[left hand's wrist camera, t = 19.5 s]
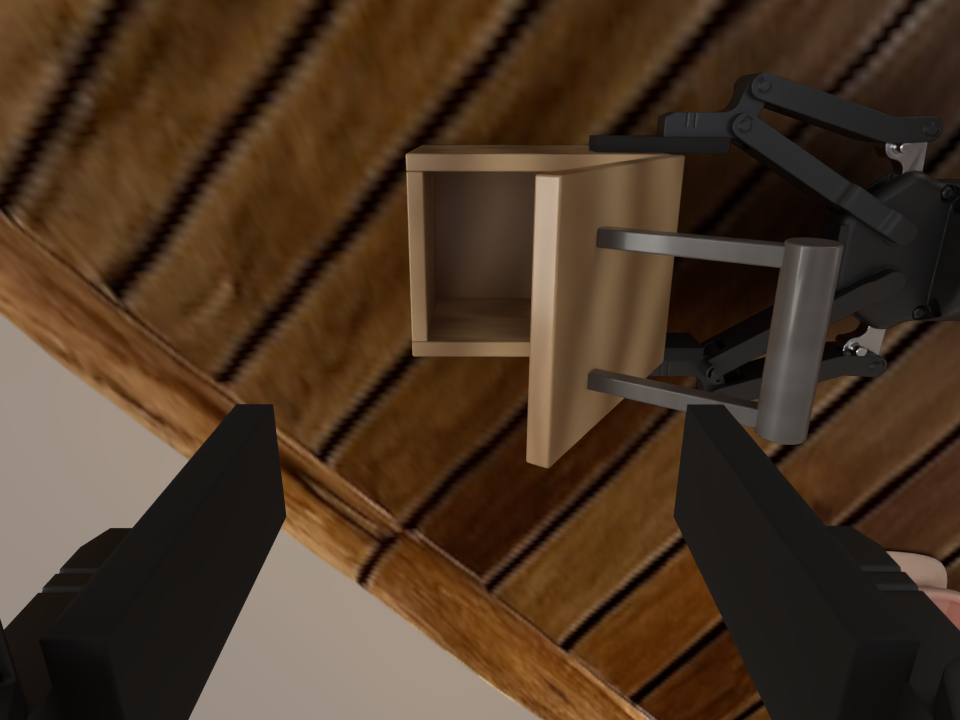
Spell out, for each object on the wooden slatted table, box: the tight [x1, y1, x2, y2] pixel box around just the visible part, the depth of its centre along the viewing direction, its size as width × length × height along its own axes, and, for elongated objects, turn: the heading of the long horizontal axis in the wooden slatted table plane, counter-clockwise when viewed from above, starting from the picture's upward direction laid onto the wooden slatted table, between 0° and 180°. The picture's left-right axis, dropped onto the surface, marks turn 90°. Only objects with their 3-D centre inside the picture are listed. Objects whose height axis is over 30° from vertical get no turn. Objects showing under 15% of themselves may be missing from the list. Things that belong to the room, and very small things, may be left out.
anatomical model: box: [886, 551, 960, 630], centre depth 50 cm, size 13×4×12 cm
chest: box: [406, 145, 671, 356], centre depth 38 cm, size 13×10×10 cm
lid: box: [526, 155, 844, 468], centre depth 25 cm, size 13×10×9 cm
